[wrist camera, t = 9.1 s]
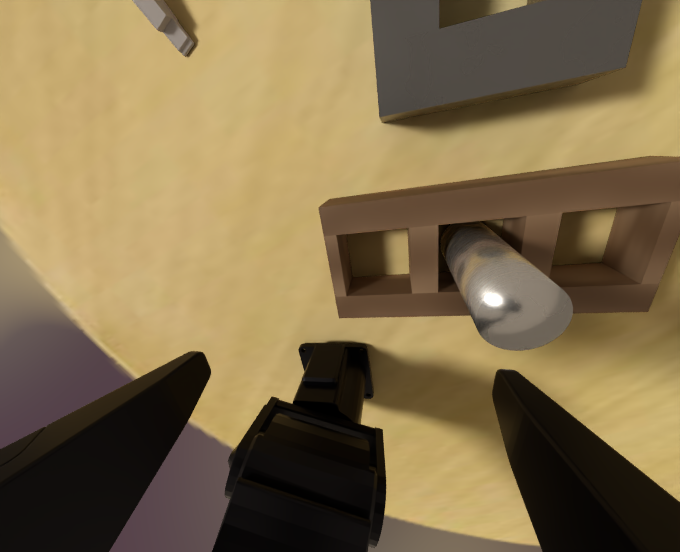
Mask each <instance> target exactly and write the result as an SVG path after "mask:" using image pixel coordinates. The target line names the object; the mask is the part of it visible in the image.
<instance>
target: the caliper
mask: <svg viewBox="0 0 680 552" xmlns="http://www.w3.org/2000/svg"><path fill="white" fill-rule="evenodd" d="M132 1H133V2H134V3H135V4H136V5H137V7H138V8H139V9H140V10H141V11H142V12H143V14H144V15H145V16H146V17H147V18H148V20H149V21H150V22H151V23H152V24H153V26H154V27H155V28H156V29H157V30H158V31H160V32H163V33H164V34H165V35H166V36H167V38H168V39H169V40H170V41H171V42H172V44H173V45H174V46H175V47H176V48H177V50H178V51H180V52H181V53H182V54H183V55H184V56H185V57H186V55H187V54H188V52H189V51H190V50H191V48H192V47H193V45H194V42H193V40H192V39H191V38H190V36H189V35H188V34H187V33H186V31H185V30H184V29H183V28H182V26H181V25H180V24H179V23H178V19H177V18H176V17H175V15H174V14H173V12H172V11H171V10H170V8H169V7H168V5H167V4H166V3H165V1H164V0H132Z"/></svg>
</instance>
